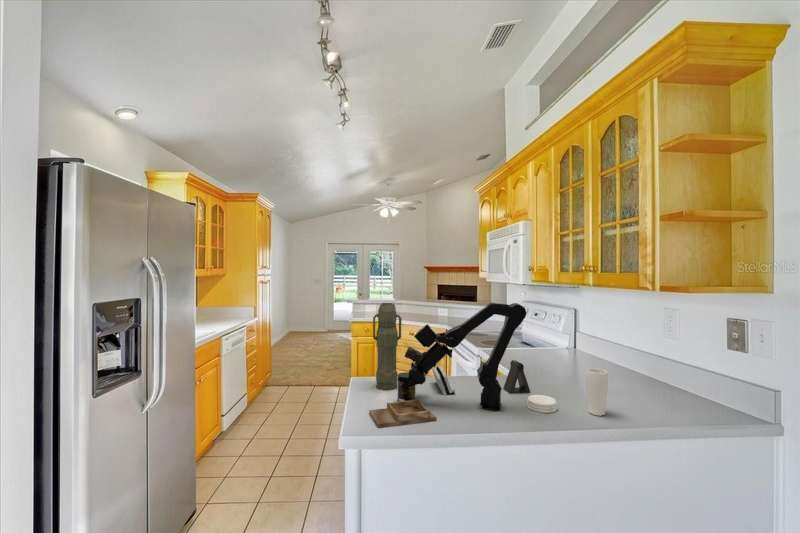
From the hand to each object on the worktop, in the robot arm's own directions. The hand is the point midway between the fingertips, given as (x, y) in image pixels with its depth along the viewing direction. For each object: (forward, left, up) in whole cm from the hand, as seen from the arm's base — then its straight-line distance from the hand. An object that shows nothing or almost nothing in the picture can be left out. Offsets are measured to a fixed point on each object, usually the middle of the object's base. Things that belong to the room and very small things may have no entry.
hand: (402, 384), depth 144 cm
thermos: (+13, -14, -7) cm, 20 cm away
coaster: (-48, -14, -7) cm, 51 cm away
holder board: (-5, +13, -7) cm, 15 cm away
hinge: (-9, -22, -7) cm, 25 cm away
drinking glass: (-66, -16, -7) cm, 69 cm away
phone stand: (-38, -30, -7) cm, 49 cm away
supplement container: (-1, 0, -7) cm, 7 cm away
